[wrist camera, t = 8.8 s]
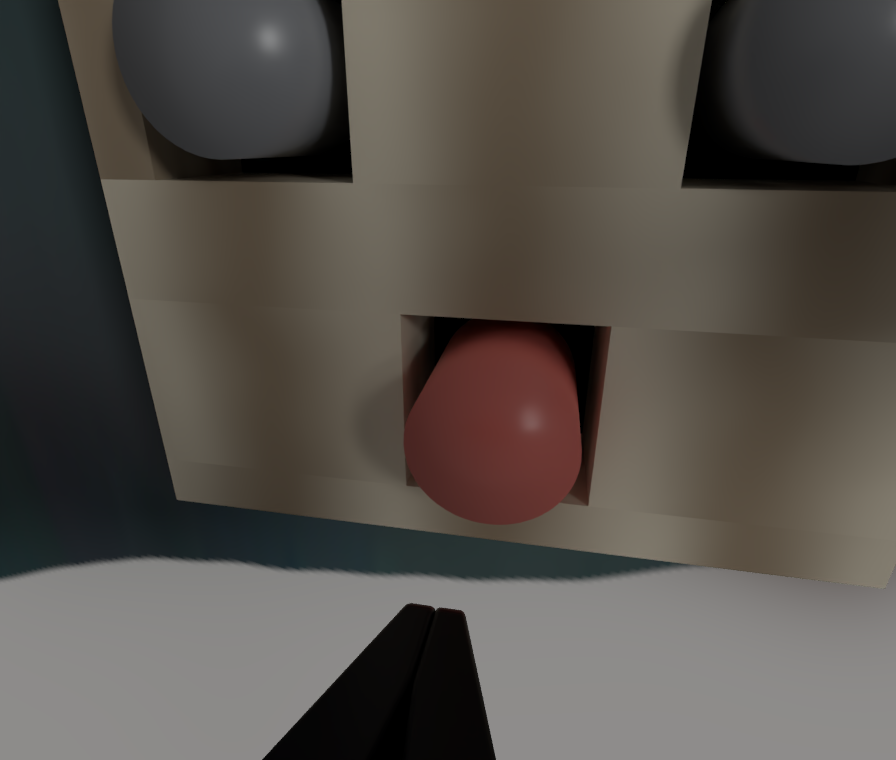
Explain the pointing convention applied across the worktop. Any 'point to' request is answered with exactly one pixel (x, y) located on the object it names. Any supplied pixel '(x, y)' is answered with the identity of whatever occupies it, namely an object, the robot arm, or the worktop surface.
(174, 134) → the grey plug
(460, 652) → the robot arm
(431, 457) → the red plug
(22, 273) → the worktop surface
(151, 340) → the plug board
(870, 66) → the grey plug
